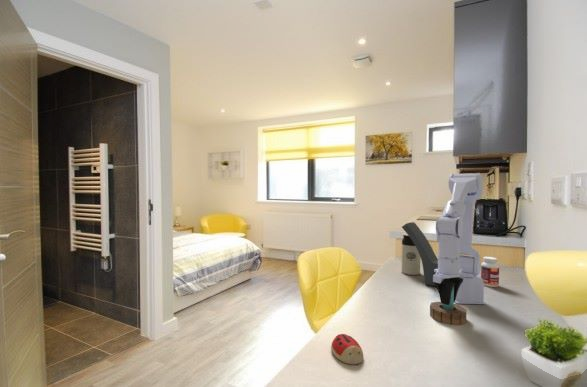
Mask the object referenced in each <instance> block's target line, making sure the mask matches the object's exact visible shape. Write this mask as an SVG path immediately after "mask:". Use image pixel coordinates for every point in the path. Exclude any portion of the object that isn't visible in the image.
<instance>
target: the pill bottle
mask: <svg viewBox="0 0 587 387" xmlns="http://www.w3.org/2000/svg"><path fill="white" fill-rule="evenodd" d="M480 277H481V278H482V280H483V283H484V287H490V288H497V287H499V285H500V265H499V264H498V258H496V257H494V256H483V262H481V267H480Z"/></svg>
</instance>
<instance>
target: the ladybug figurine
mask: <svg viewBox="0 0 587 387" xmlns="http://www.w3.org/2000/svg"><path fill="white" fill-rule="evenodd" d="M330 349H331V352H332V354H333V355H334V357H335V358H337V359H338V360H339V361H340V362H342V363H345V364H347V365H354V366H355V365H358V364H360V363H362V362H363V360H364V352H363V349H362V347H361V345H360V344H359V342H358V341H357V340H356V339H354V338H353V337H352V336H350V335H348V334H346V333H340V334H338V335H336V336H335V337H334V339H333V340H332V341H331V346H330Z"/></svg>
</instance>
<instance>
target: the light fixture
mask: <svg viewBox="0 0 587 387" xmlns="http://www.w3.org/2000/svg"><path fill="white" fill-rule="evenodd" d="M401 228H402V229H403V231H404V233H407V234H408V235H409V237H410V238H411V239H412V241H413V243H414V244H415V246H416V248H417V250H418V252H419V255H420V261H421V263H422V265H421V266H422V269H423V281H424V285H425V286H432V287H436V285H435V283H434V282H433V275H435V274H436V272H434V269H438V256H436V254H435V253H436V252H435V251H434V250H433V247H432V246H431V244H430V242H429V240H428V239H427V237H426V236H425V234H424V233H423V231H422V230H421V228H419V226H418V225H417V223H415V222H413V221H412V222H407V223H405V224H403V225H402V226H401Z"/></svg>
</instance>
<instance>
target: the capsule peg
mask: <svg viewBox="0 0 587 387" xmlns="http://www.w3.org/2000/svg"><path fill="white" fill-rule="evenodd" d="M454 304H455V302H454V287H453V289H452V292H451V299H450V303H449V305H446V304H443V303H442V309H444V310H449V311H454Z"/></svg>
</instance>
